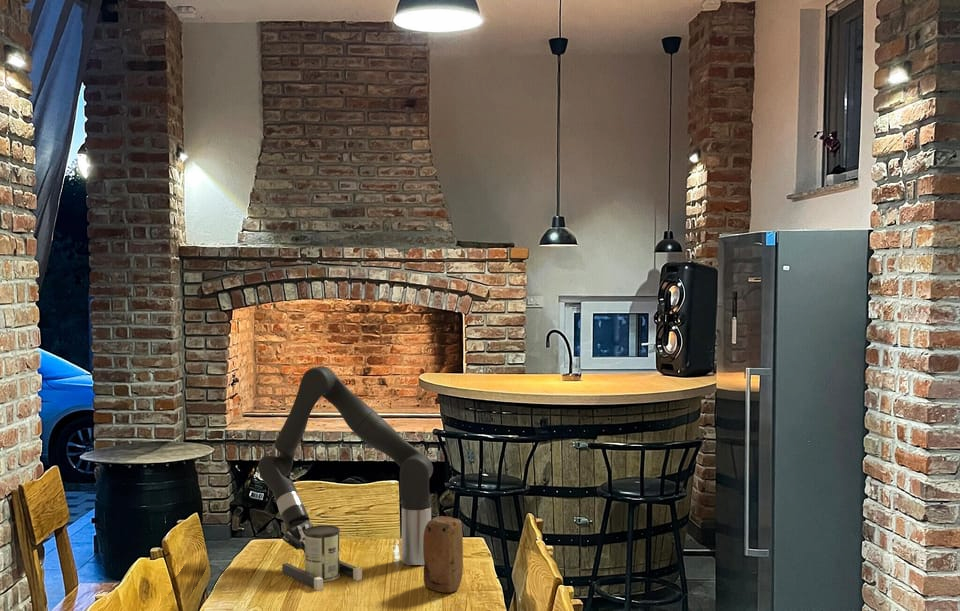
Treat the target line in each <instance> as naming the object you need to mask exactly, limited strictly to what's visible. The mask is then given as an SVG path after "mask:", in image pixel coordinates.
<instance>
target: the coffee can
mask: <svg viewBox="0 0 960 611" xmlns="http://www.w3.org/2000/svg"><path fill="white" fill-rule="evenodd" d="M340 531H341V528H340V527H338V526H336V525H331V524H330V525H328V524H320V525H313V527H309V528H307V529H305V530H304V533H305V553H304V571H306V572H308V573H311V574H313V575H315V576H317V577H321V578H323V583H328V582H331V581H334V580H337V579H339V578H340V577H341V576H340V575H341V574H340V573H339V560H340Z"/></svg>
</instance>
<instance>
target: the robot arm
mask: <svg viewBox="0 0 960 611" xmlns="http://www.w3.org/2000/svg"><path fill="white" fill-rule="evenodd" d="M321 397H323V399H325V400H326V401H328V402H329V403H330V404H331V405H332V406H334V407H335V409H336V410H337V411H338V412H339V414H340V415H341V417H342V419H343V420H344V421H345V423H346V425H347V426H348V428H349V429H350V430H351V431H352V432H353V433H354V434H355V435H356V436H357V437H358V438H359V439H360V440H362V441H363V442H364V443H366V444H367V445H368V446H370V447H372V448H373V449H376V450H377V451H378V452H381V453H382V454H384V455H387V456H388V457H389V458H390V459H392V460H393V462H395V463H396V464H397V465H398V467H400V469H399V496H400V497H399V498H400V501H401V564H403V565H405V564H406V566H410V565H421V566H424V554H423V541H424V540H423V535H424V530H425V527H426V525H427V523H428V522H429V521H430V520H431V519H432V498H431V496H430V478H431V477H432V475H433V472H434V465H433V463H432V461H431V460H430V458H429V457H428V456H427V455H426V454H424V453H423V452H421V451H420V450H418V449H417V448H416V447H414V446H413V445H412V444H411V443H409V442H408V441H407V440H406V439H404V438H403V437H402V436H401V435H400V434H399V433H398V432H397V430H395V429H394V428H393V427H392V426H391V425H390V424H389V423H388V422H387V421H386V420H385V419H384V418H383V417H381V415H379V414H378V413H377V412H376V411H375V410H374V409H373V408H371V407H370V406H369V405H368V404H367V403H366V402H364V401H363V400H362V399H361V398H360V397H359V396H358V395H356V394H355V393H353V392H352V391H351V390H350V389H349V388H348V386H347V385H346V384H345V383H344V382H343V381H342V380H341V379H340V377H338V376H337V374H336V373H335V372H334V371H333V370H332V369H330V368H329V367H327V366H323V365H321V366H319V365H318V366H315V367H311V368H309V369H308V370H306V371H305V372H304V373H303V376H302V378H301V381H300V384H299V387H298V391H297V394H296V395H295V399H294V401H293V404H292V407H291V409H290V412H289V413H288V415H287V418H286V420H285V422H284V424H283V426H282V427H281V429H280V431H279V433H278V435H277V437H276V440H275V442H274V448H275V449H276V450H277V451H278V452H279V455H278V456H276V455H265V456H263V457H261V459H260V460H259V462H258V463H257V464H258V465H257V469H258V470H257V471H258V473H259V476H260V478H261V479H262V481H263V482H264V483H265V485H266V486H267V488H268V489H269V490H270V491H271V492H272V495H273V497H274V501H275V502H276V504H277V508H278V511H279V512H278V513H279V514H280V516H281V519H282V521H283V524H284V526H285V528H286V532H285V534H284V536H283V537H282V541H284V542H285V543H287V544H288V545H289V546H290V547H292V548H294V549H295V550H297V551H298V550H302V551H303V553H304V554H305V533H304V530H305V529H307V528H309V527H313V526H314V525H313V522H311V521H310V517H309V514H308V511H307V510H306V507H305V505H304V502H303V501H302V498H301V496H300V495H299V492H298V490H297V487H296V486H295V484H294V482H293V480H292V479H290V478H288V475H289V474H290V473H291V471H292V468H293V464H294V459H295V455H296V450H297V448H298V446H299V444H300V442H301V441H302V438H303V436H304V434H305V432H306V429H307V424H308V421H309V418H310V415H311V413H312V411H313V409H314V408H315V406H316V404H317V402H318V401H319V400H320V398H321Z"/></svg>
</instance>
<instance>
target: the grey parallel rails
mask: <svg viewBox="0 0 960 611" xmlns="http://www.w3.org/2000/svg"><path fill="white" fill-rule="evenodd" d="M281 566H282V567H281V568H282V569H281V571H282V572H281V573H283V574H284V575H283V574H282V575H283V576H286V575H287V576H286V577H288V576H289V577H288V578H290V577H291V579H292V578H293V579H292V580H294V579H295V581H296V580H297V581H296V582H298V581H299V582H298V583H300V582H301V584H302V585H305V586H307V587H308V588H311V589H313V590H315V591H316V592H317V591H318V592H319V591H322V590H324V582H323V578H321V577H317V576H315V575H313V574H311V573H308V572H306V571H305V569H301V568H300V567H297V566H295V565H293V564H290V563H289V562H285V563H282V565H281ZM340 573H341V574H340ZM339 574H340V575H342V574H343V576H345V577H347V578H349V577H350V579H351V580H354V581H357V582H358V581H362V580H363V568H361V567H356V566H354V565H351V564H349V563H347V562H345V561H341V560H340V559H339Z"/></svg>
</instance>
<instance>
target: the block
mask: <svg viewBox="0 0 960 611" xmlns="http://www.w3.org/2000/svg"><path fill="white" fill-rule="evenodd" d="M423 540H424V541H423V554H424V565H423V584H424V587H426V588H428V589H430V590H432V591H436V592H439V593H445V594H446V593H454V592H456V591H458V590H459V589H460V586H461V582H462V578H463V574H464V573H463V571H464V570H463V569H464V549H463V548H464V540H463V525H462V521H461V520H460V519H459V518H454V517H452V516H448V515H447V516H444V515H439V516H435V517H433V518H431V520H430V521H429V522H428V523H427V525H426V527H425V530H424V535H423Z"/></svg>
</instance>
